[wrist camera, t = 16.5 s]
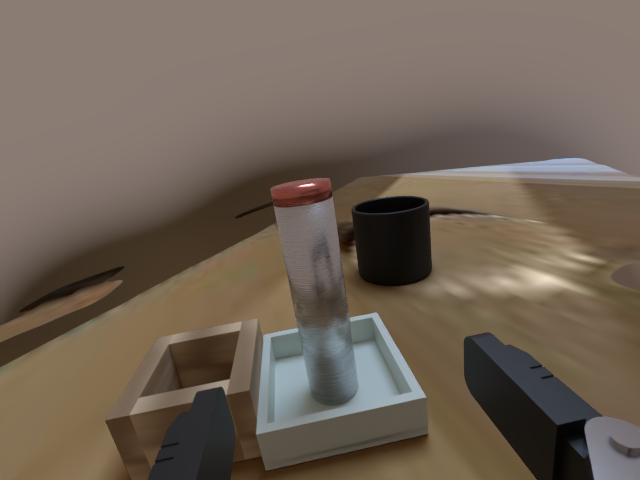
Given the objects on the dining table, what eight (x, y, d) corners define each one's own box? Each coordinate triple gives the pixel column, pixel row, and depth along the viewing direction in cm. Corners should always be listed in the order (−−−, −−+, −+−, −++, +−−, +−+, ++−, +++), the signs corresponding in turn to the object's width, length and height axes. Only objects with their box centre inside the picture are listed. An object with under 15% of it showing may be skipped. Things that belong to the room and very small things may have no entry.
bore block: (269, 369, 28) (258, 318, 26) (266, 455, 20) (249, 390, 18) (174, 388, 27) (157, 337, 25) (133, 485, 19) (104, 420, 18)
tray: (379, 339, 29) (376, 312, 28) (428, 433, 20) (426, 397, 19) (270, 361, 28) (263, 334, 28) (265, 471, 19) (255, 434, 18)
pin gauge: (352, 365, 26) (325, 176, 21) (364, 399, 22) (334, 181, 18) (308, 374, 25) (271, 185, 21) (312, 410, 22) (269, 193, 17)
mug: (437, 251, 47) (435, 189, 44) (426, 289, 37) (422, 212, 34) (374, 250, 51) (369, 194, 48) (349, 284, 41) (340, 215, 38)
